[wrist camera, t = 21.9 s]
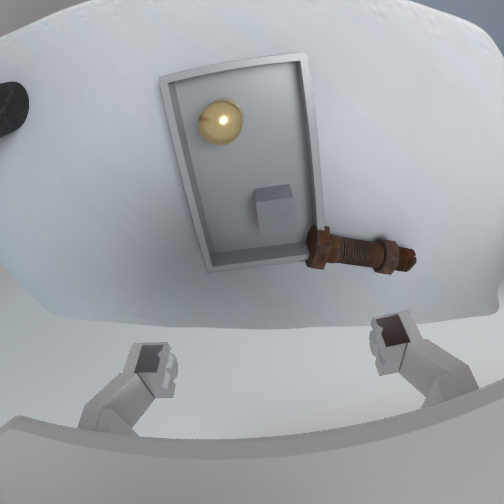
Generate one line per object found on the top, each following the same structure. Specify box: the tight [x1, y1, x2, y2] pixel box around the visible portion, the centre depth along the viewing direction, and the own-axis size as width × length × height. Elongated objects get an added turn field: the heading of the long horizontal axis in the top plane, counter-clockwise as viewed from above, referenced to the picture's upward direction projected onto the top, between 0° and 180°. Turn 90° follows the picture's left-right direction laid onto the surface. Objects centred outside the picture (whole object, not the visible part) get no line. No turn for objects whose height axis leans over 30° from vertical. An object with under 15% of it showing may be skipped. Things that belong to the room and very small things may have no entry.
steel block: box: [255, 184, 297, 235], centre depth 36 cm, size 4×4×4 cm
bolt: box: [305, 225, 416, 275], centre depth 39 cm, size 6×5×15 cm
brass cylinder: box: [198, 98, 244, 145], centre depth 29 cm, size 4×4×6 cm
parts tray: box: [159, 53, 325, 273], centre depth 34 cm, size 15×24×4 cm, turn 9°
